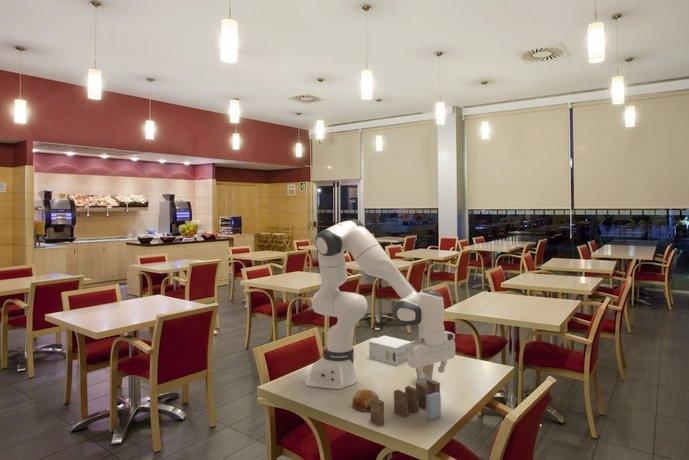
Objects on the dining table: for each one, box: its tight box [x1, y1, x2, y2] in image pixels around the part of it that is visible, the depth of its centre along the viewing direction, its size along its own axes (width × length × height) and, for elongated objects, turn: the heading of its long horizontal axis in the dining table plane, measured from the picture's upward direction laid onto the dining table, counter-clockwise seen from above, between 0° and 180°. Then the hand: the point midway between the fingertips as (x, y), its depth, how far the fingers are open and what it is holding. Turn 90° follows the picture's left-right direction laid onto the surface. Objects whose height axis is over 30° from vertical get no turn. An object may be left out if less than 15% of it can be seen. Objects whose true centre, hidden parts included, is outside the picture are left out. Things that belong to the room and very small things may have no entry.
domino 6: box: [426, 392, 442, 420], centre depth 160 cm, size 2×5×8 cm, turn 125°
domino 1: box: [369, 397, 385, 427], centre depth 156 cm, size 2×5×8 cm, turn 35°
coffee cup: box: [415, 363, 435, 385], centre depth 191 cm, size 9×9×15 cm
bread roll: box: [352, 388, 380, 413], centre depth 169 cm, size 10×10×8 cm
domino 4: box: [415, 382, 429, 410], centre depth 168 cm, size 2×5×8 cm, turn 35°
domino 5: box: [426, 379, 441, 394], centre depth 172 cm, size 2×5×8 cm, turn 35°
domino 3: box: [404, 385, 420, 414], centre depth 165 cm, size 2×5×8 cm, turn 35°
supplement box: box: [368, 335, 413, 367], centre depth 221 cm, size 17×13×9 cm
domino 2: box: [393, 389, 409, 418], centre depth 162 cm, size 2×5×8 cm, turn 35°
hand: (431, 375), depth 158 cm, fingers open, 8 cm apart
